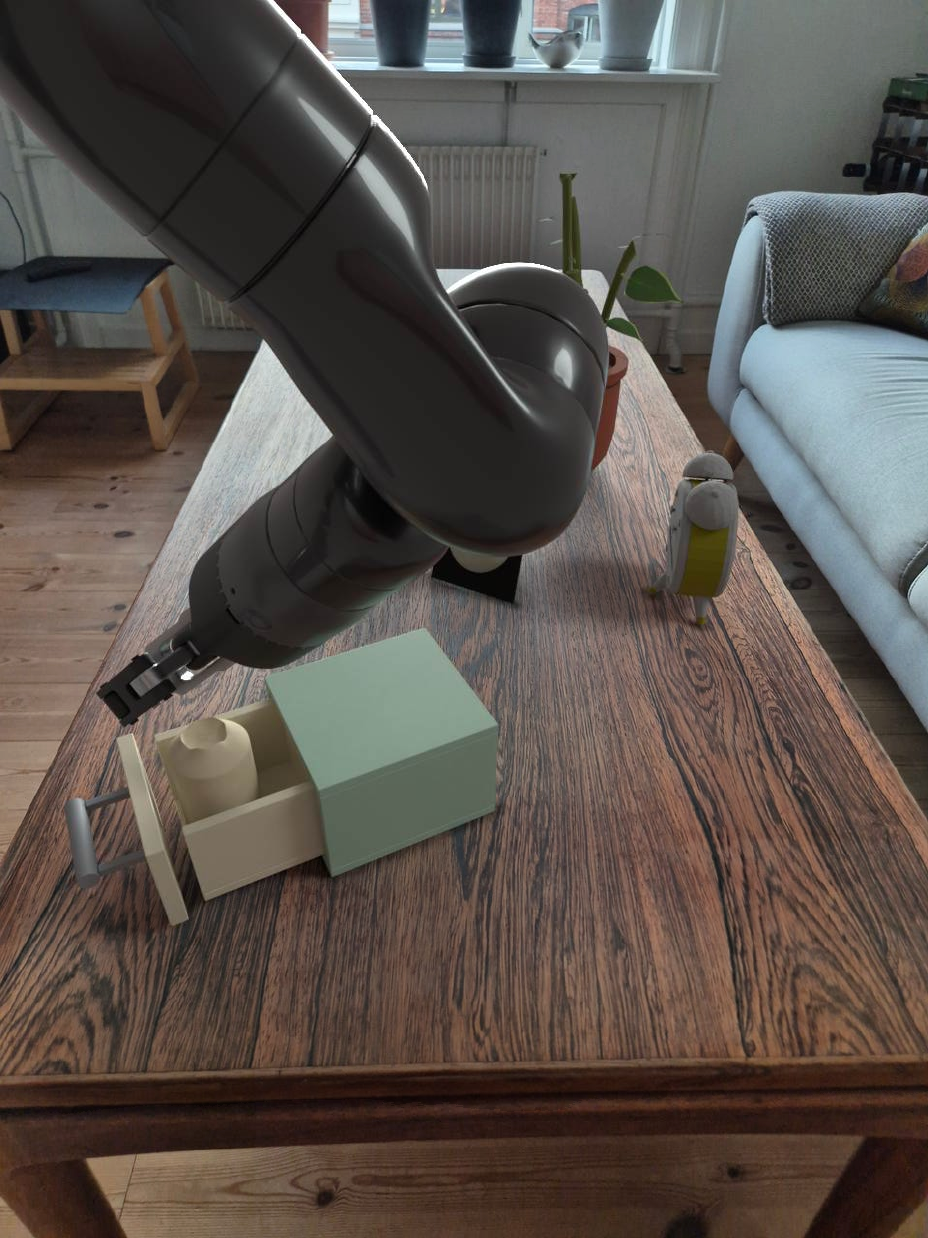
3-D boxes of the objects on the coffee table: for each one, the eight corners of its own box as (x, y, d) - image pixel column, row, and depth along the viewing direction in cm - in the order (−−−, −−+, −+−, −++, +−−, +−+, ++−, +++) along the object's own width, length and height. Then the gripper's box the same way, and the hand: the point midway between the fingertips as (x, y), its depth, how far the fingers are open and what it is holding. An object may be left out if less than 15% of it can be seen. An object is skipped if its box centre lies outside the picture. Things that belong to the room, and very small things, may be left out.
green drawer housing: (331, 878, 61) (318, 790, 55) (280, 762, 70) (263, 676, 64) (495, 811, 66) (498, 724, 60) (427, 711, 75) (425, 627, 69)
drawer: (102, 955, 56) (68, 885, 51) (79, 829, 64) (48, 759, 59) (344, 857, 62) (334, 786, 57) (295, 754, 70) (283, 685, 65)
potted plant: (519, 492, 106) (534, 186, 85) (510, 437, 118) (522, 158, 97) (656, 491, 106) (706, 186, 85) (633, 437, 119) (672, 158, 97)
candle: (268, 851, 61) (246, 755, 55) (189, 864, 60) (158, 769, 54) (265, 793, 65) (245, 698, 59) (192, 804, 64) (164, 710, 58)
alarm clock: (717, 633, 84) (749, 502, 75) (648, 626, 85) (671, 495, 76) (709, 568, 93) (737, 444, 84) (646, 562, 94) (667, 438, 85)
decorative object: (462, 561, 98) (541, 585, 94) (417, 583, 89) (502, 612, 85) (479, 452, 93) (562, 474, 89) (433, 465, 84) (523, 490, 80)
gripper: (339, 457, 46) (224, 564, 58) (129, 582, 37) (43, 679, 49) (420, 567, 47) (290, 651, 59) (236, 716, 38) (126, 780, 50)
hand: (179, 664), depth 54 cm, fingers open, 8 cm apart
